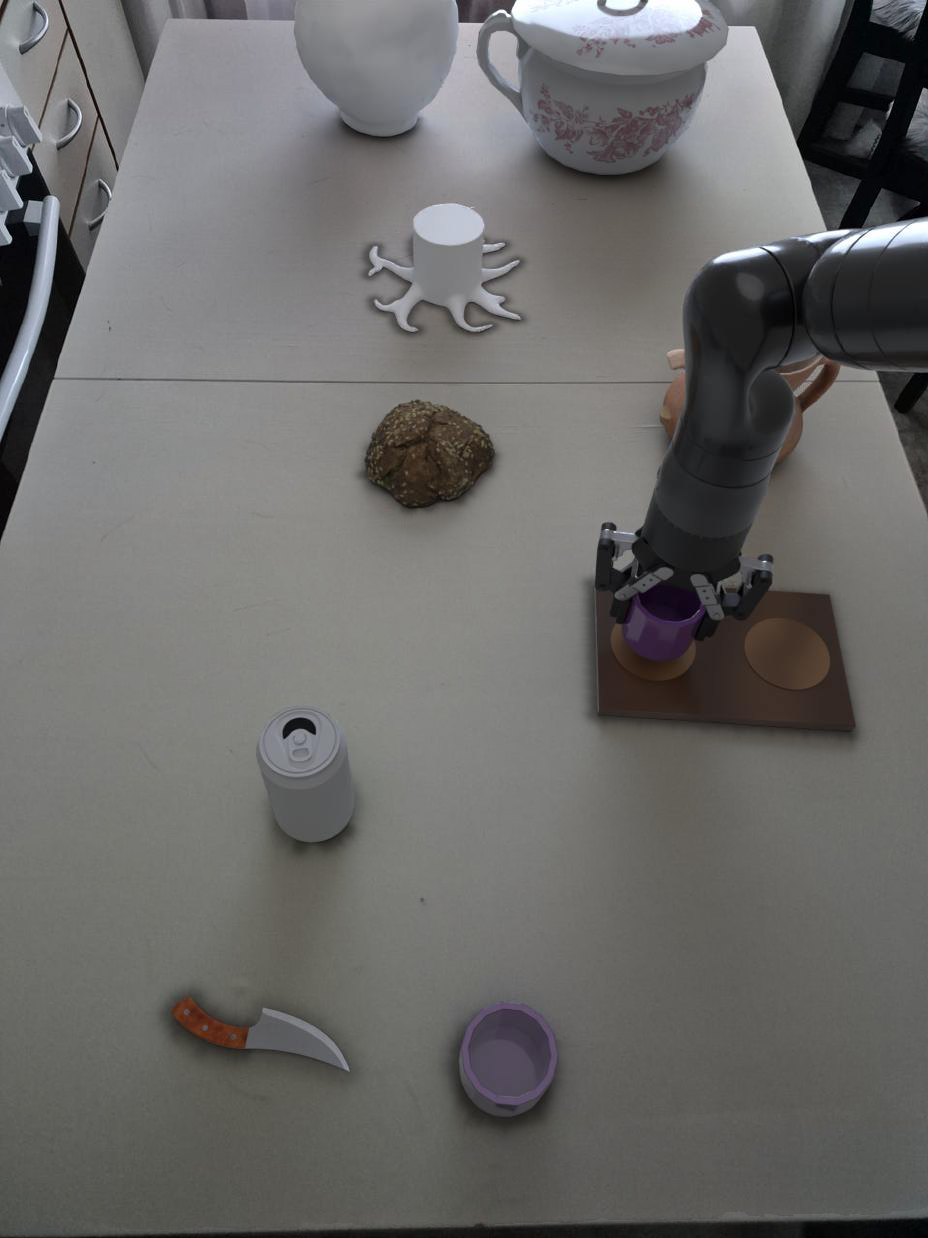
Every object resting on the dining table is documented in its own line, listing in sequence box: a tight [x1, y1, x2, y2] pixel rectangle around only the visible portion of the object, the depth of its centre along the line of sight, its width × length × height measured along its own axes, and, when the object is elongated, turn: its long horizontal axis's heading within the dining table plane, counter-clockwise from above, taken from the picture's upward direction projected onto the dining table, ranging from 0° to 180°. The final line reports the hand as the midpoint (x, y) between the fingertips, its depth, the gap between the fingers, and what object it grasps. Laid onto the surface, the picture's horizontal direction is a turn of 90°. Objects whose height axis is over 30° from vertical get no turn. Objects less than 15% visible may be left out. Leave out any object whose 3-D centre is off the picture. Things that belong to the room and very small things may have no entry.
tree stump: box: [368, 201, 521, 333], centre depth 113 cm, size 20×19×8 cm
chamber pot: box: [475, 0, 730, 176], centre depth 126 cm, size 28×28×21 cm
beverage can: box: [255, 704, 356, 843], centre depth 72 cm, size 6×6×12 cm
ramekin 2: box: [622, 584, 706, 661], centre depth 82 cm, size 6×6×5 cm
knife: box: [170, 997, 351, 1073], centre depth 67 cm, size 13×1×3 cm
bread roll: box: [364, 398, 496, 508], centre depth 97 cm, size 13×12×5 cm
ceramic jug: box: [659, 348, 842, 466], centre depth 97 cm, size 18×14×14 cm
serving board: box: [593, 582, 856, 732], centre depth 87 cm, size 22×14×1 cm, turn 87°
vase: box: [293, 0, 460, 138], centre depth 124 cm, size 19×21×30 cm
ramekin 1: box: [458, 1000, 559, 1118], centre depth 65 cm, size 6×6×5 cm
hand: (660, 624), depth 83 cm, fingers closed on ramekin 2, 6 cm apart
